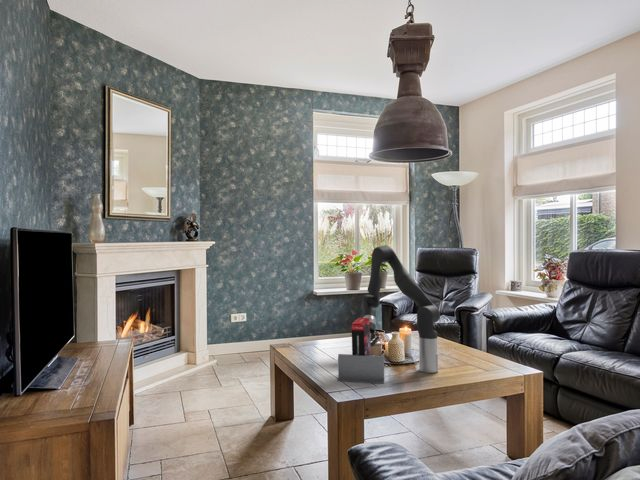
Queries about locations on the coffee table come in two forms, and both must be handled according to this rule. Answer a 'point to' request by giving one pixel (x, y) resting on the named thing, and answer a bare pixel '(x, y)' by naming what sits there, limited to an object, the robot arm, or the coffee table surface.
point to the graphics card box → (361, 337)
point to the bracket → (361, 368)
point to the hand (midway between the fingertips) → (366, 352)
